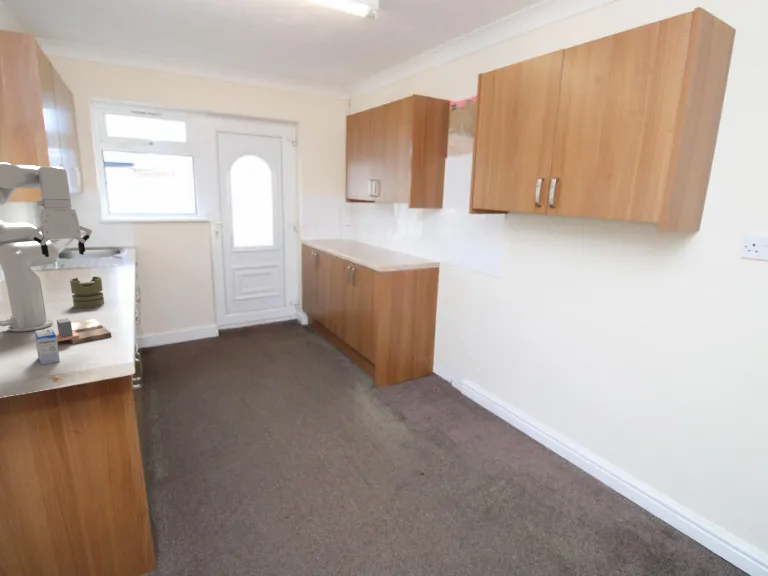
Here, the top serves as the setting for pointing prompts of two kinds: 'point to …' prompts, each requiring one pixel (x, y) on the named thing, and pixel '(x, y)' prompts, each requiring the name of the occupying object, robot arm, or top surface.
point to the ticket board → (89, 331)
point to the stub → (65, 330)
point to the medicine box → (47, 346)
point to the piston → (87, 293)
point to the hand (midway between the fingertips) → (64, 255)
